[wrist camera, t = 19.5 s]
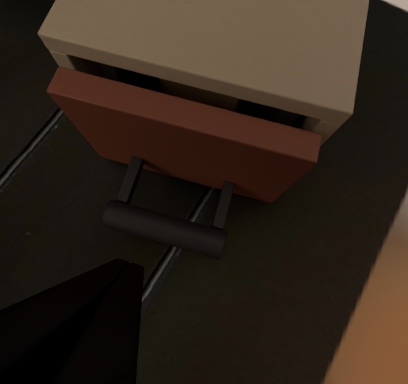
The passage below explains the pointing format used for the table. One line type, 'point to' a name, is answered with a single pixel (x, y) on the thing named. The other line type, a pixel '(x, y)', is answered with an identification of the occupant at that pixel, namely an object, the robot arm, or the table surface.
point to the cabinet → (224, 48)
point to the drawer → (182, 149)
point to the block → (200, 95)
